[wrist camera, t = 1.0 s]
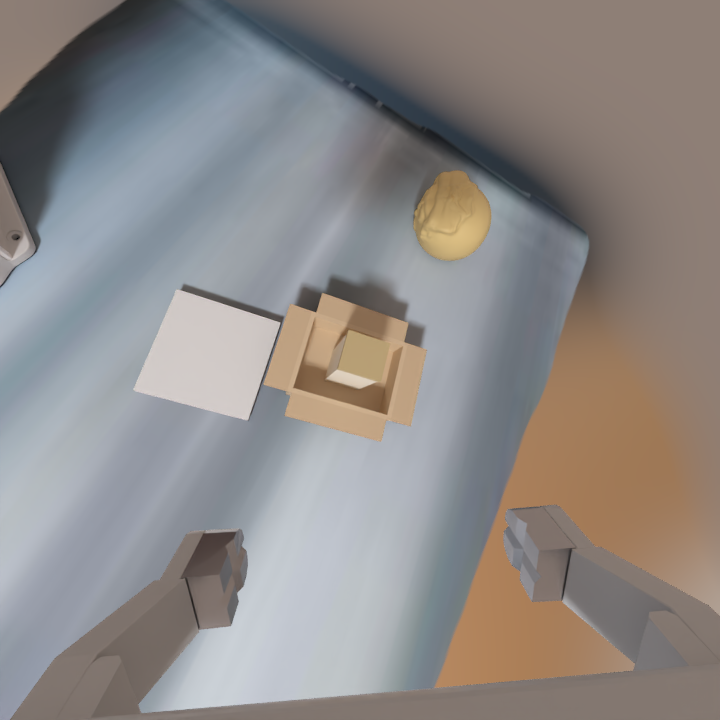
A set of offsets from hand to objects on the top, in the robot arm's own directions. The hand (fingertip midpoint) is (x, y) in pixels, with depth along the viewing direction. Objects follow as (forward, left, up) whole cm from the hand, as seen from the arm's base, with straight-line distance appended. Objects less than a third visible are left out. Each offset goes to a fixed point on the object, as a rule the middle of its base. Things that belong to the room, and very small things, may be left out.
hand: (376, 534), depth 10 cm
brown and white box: (-9, +9, -36) cm, 39 cm away
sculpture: (-28, +31, -37) cm, 56 cm away
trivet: (-15, -8, -37) cm, 40 cm away
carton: (-9, +9, -37) cm, 39 cm away
